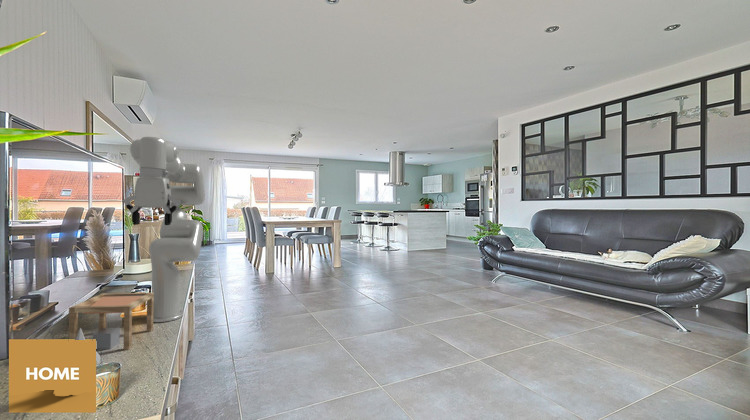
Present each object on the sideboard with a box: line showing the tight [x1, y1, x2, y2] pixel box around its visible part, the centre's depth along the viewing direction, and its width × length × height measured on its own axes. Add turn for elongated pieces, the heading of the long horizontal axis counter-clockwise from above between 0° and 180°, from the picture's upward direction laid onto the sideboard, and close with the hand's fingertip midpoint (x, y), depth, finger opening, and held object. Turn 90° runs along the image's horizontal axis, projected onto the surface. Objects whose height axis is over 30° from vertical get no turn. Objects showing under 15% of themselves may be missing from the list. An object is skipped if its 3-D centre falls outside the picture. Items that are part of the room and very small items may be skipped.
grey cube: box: [92, 327, 121, 351], centre depth 109 cm, size 5×5×5 cm
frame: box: [68, 292, 154, 351], centre depth 113 cm, size 16×16×14 cm
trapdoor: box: [82, 296, 142, 315], centre depth 114 cm, size 12×13×1 cm
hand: (152, 224), depth 117 cm, fingers open, 9 cm apart
